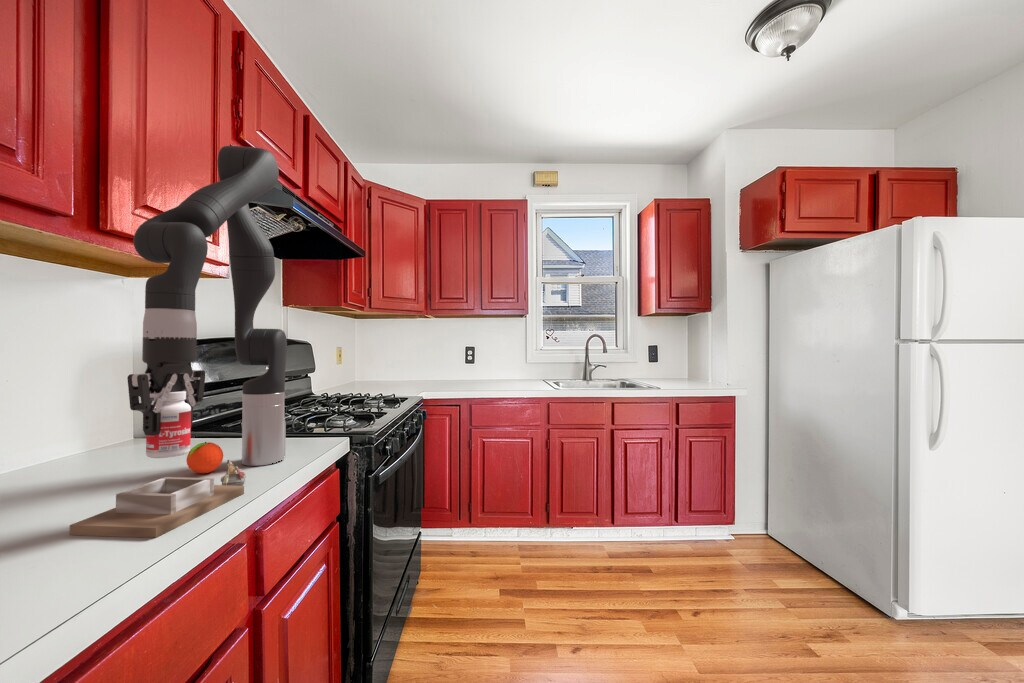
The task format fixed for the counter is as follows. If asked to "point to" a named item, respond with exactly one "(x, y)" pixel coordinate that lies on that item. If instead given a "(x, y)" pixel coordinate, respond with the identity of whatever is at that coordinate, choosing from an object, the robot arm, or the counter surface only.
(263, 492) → the counter surface
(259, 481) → the counter surface
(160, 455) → the pill bottle
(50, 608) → the counter surface
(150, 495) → the bottle holder
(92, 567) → the counter surface
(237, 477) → the figurine
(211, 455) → the clementine
